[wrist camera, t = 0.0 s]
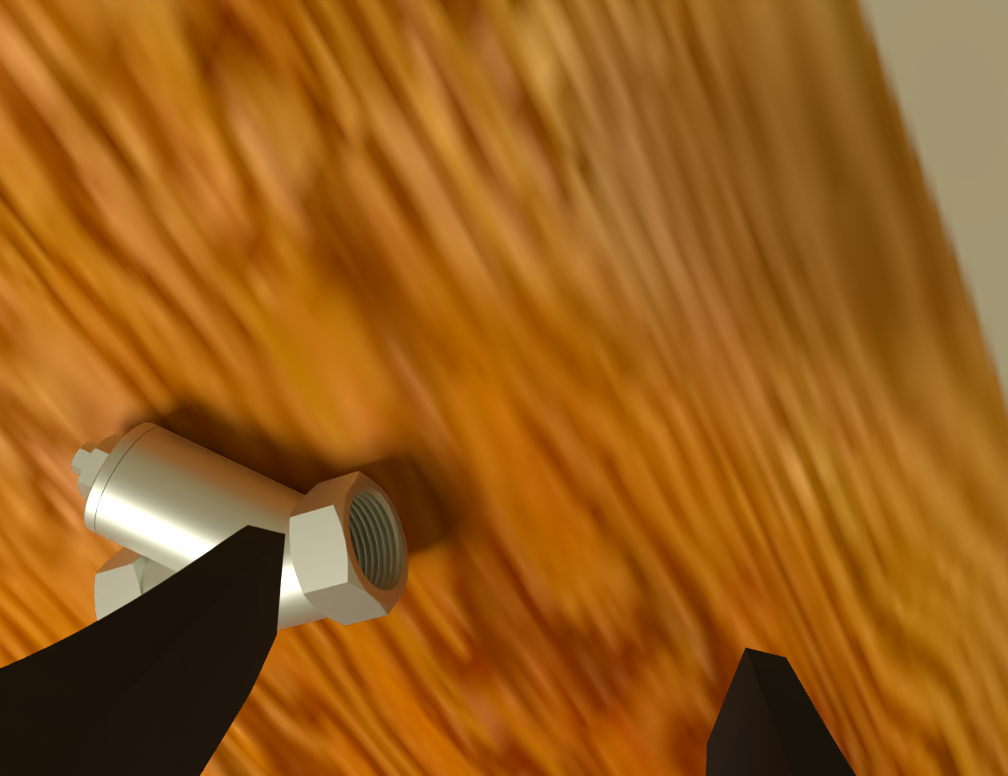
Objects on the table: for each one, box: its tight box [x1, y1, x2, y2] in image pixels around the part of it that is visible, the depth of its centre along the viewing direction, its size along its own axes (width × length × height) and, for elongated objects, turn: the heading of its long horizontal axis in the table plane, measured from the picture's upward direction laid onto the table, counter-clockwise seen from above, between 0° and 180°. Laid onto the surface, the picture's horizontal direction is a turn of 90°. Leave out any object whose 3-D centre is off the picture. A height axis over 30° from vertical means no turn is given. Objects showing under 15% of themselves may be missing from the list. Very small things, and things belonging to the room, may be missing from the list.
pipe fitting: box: [71, 422, 408, 630], centre depth 24 cm, size 8×4×7 cm
